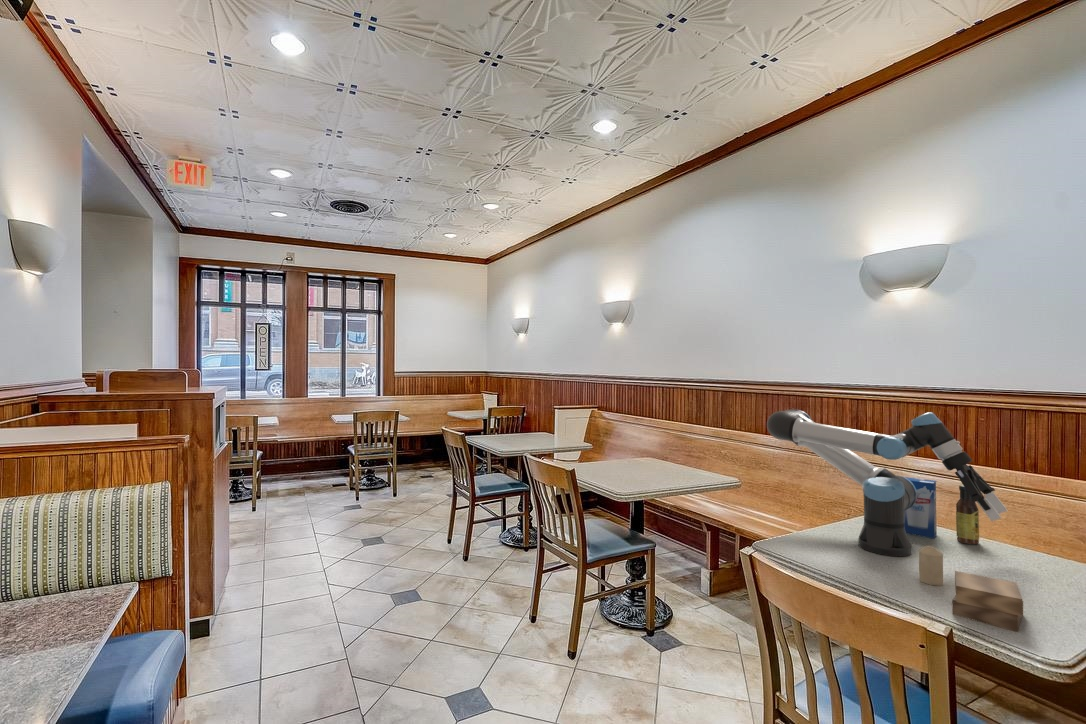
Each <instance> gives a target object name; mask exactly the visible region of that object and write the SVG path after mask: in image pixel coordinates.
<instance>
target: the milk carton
mask: <svg viewBox="0 0 1086 724" xmlns="http://www.w3.org/2000/svg"><path fill="white" fill-rule="evenodd" d="M904 477H905V478H907V479H908V480H910V481H911V482H912V483H913V485H914V486H915V488H916V490H917V499H916V501H915V503H914V504H913V506H912V507H911V508H909V509H907V510H905V531H906V534H907V533H909V535H912V534H914V535H913V536H918V535H920V536H919V537H923V536H925V537H924V538H929V537H930V538H929V539H936V536H937V532H938V531H937V480H932V479H925V478H918V477H917V478H916V477H909V476H908V477H907V476H904Z"/></svg>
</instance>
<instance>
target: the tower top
mask: <svg viewBox="0 0 1086 724" xmlns="http://www.w3.org/2000/svg"><path fill="white" fill-rule="evenodd" d="M954 589H955V590H954V591H955V595H956V602H959V603H963V604H968V605H972V606H977V607H981V608H986V609H990V610H995V611H1000V612H1004V613H1009V614H1013V615H1018V616H1022V617H1023V618H1024V609H1023V610H1022V601H1023V597H1022V595H1021V592H1020V589H1019V586H1018V584H1017V582H1014V581H1009V580H1006V579H1005V580H1004V579H999V578H995V577H989V576H985V575H979V574H975V573H974V574H973V573H968V572H962V571H957V570H955V571H954Z"/></svg>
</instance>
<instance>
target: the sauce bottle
mask: <svg viewBox="0 0 1086 724" xmlns="http://www.w3.org/2000/svg"><path fill="white" fill-rule="evenodd" d="M958 490H959V499H958V500H957V502H956V504H955V506H956V507H955V509H956V510H955V520H956V521H955V522H956V523H955V524H956V528H955V529H956V538H957V539H956V540H957V541H958V542H960V543H962V544H966V545H979V542H980V517H979V515H980V514H979V508H978V506H977V502H972V499H971V497H970V495H969V493H968V492H967V490H966V489H965V487H964V485H963V484H959V485H958Z"/></svg>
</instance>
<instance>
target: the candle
mask: <svg viewBox="0 0 1086 724" xmlns="http://www.w3.org/2000/svg"><path fill="white" fill-rule="evenodd" d="M943 554H944V553H942V552H941V551H940V550H938V549H937V548H935V547H933V546H932V545H925V546H923V547H921V548H920V549H919V550H918V574H919V575H918V578H919V579H918V580H919V581H920V582H921V583H924V584H925V585H931V586H937V587H941V586H943V585H944V555H943Z"/></svg>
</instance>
